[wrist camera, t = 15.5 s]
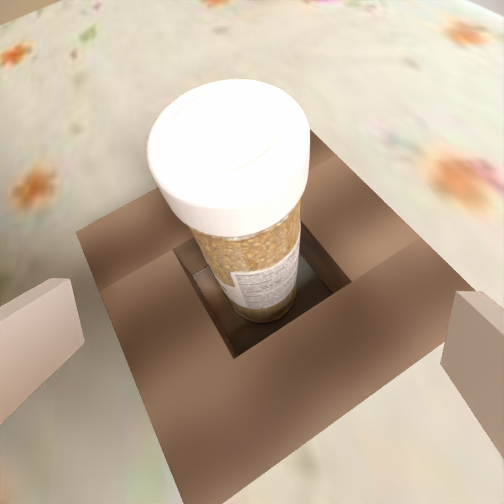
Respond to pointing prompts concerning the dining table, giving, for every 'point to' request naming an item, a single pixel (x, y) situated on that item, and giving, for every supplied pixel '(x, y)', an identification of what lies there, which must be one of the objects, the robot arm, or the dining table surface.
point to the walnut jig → (277, 344)
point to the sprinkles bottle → (237, 186)
